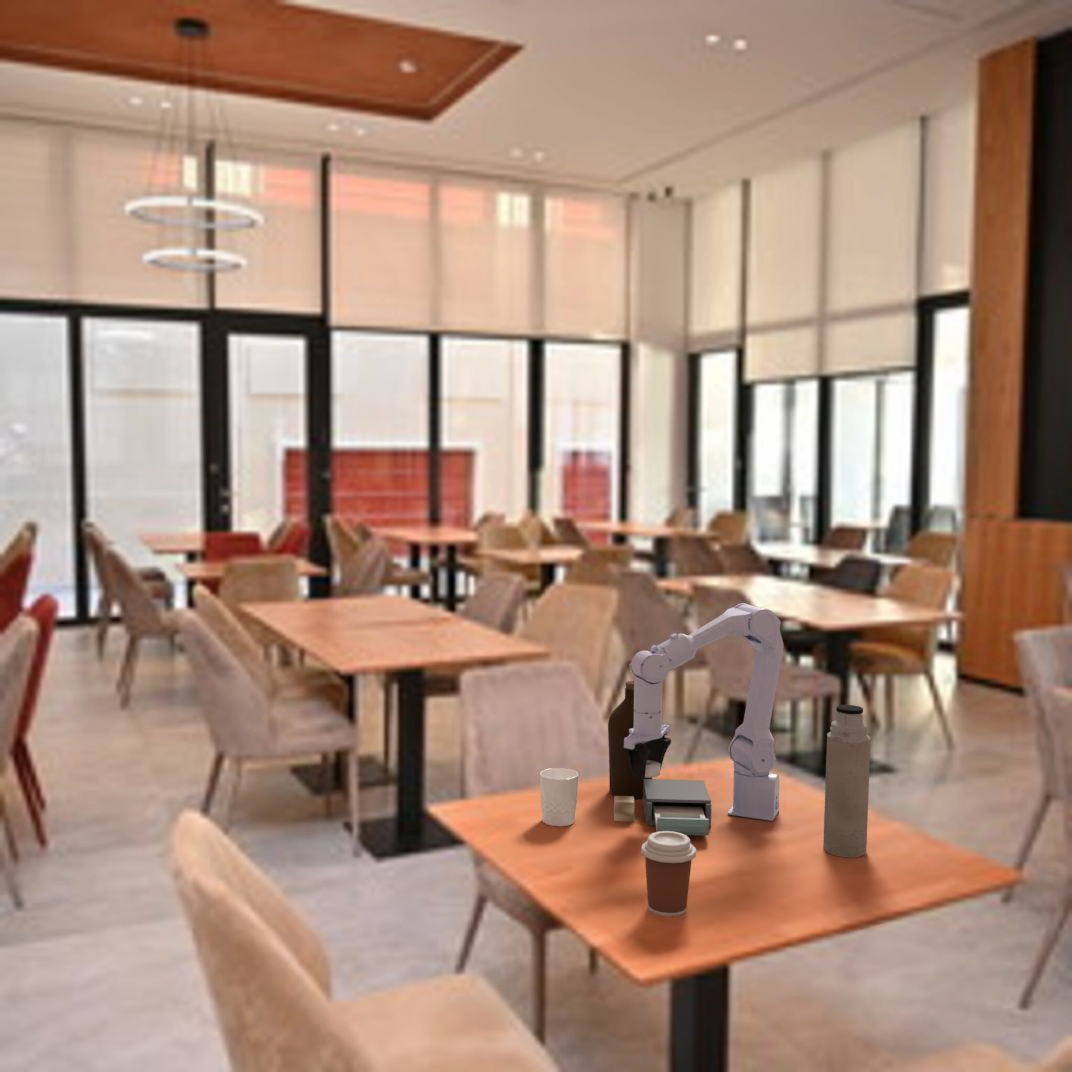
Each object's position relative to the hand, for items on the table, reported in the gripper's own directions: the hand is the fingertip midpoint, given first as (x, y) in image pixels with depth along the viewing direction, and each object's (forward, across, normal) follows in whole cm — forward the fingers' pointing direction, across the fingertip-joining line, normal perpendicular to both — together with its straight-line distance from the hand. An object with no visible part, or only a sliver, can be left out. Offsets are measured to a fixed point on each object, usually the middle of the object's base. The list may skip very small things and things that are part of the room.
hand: (646, 776), depth 217 cm
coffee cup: (+10, +33, +25) cm, 42 cm away
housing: (+10, -9, +2) cm, 13 cm away
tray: (+9, -1, +7) cm, 11 cm away
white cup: (+10, +10, -15) cm, 21 cm away
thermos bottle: (+10, -12, +37) cm, 41 cm away
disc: (-1, 0, 0) cm, 1 cm away
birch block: (+10, 0, -5) cm, 11 cm away
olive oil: (+10, -15, -13) cm, 22 cm away
